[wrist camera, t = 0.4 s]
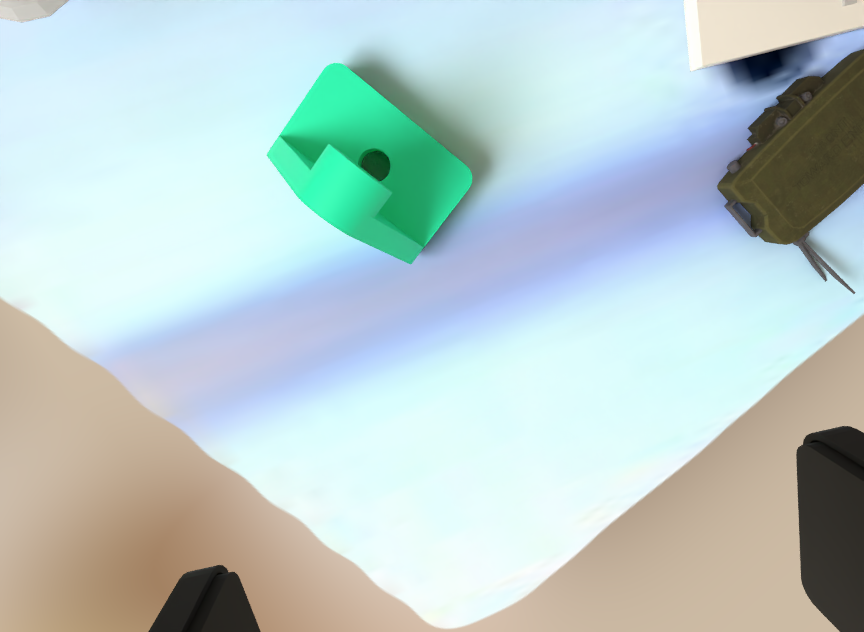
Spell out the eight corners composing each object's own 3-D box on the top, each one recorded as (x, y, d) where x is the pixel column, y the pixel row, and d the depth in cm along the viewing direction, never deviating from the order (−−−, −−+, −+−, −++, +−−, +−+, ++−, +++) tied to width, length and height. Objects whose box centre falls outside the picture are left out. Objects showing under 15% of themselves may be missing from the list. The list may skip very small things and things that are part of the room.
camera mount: (474, 176, 36) (498, 171, 26) (410, 259, 37) (410, 284, 27) (338, 65, 34) (309, 13, 24) (276, 157, 35) (224, 144, 25)
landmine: (878, 14, 32) (993, 176, 35) (843, 27, 35) (953, 177, 38) (713, 177, 34) (835, 317, 37) (692, 178, 37) (807, 308, 40)
